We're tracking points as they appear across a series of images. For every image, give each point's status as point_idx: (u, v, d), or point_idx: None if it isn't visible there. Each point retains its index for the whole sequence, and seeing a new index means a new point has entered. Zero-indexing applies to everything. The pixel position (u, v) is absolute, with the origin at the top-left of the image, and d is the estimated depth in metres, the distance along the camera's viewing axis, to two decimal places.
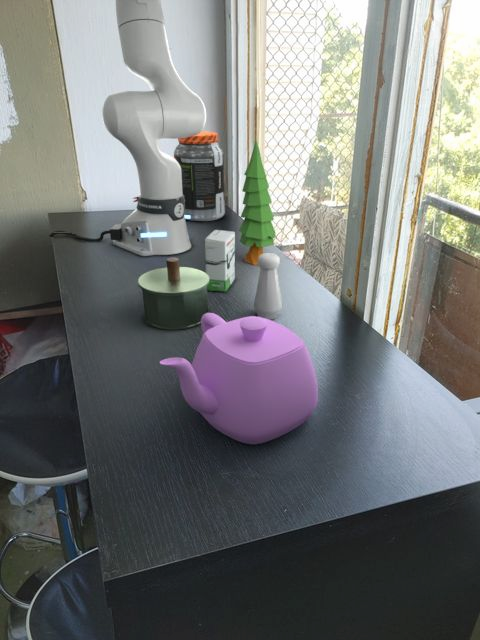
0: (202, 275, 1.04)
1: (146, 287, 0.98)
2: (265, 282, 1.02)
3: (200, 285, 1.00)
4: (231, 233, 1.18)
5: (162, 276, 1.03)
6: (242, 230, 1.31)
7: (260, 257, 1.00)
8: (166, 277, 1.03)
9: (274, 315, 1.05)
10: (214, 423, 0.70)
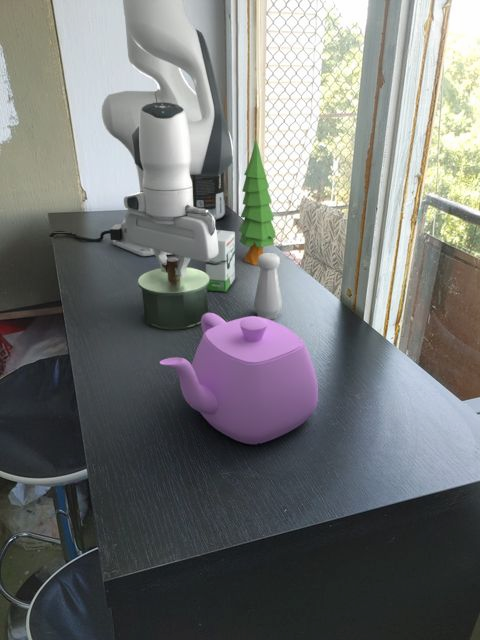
0: (202, 275, 1.04)
1: (146, 287, 0.98)
2: (265, 282, 1.02)
3: (200, 285, 1.00)
4: (231, 233, 1.18)
5: (162, 276, 1.03)
6: (242, 230, 1.31)
7: (260, 257, 1.00)
8: (166, 277, 1.03)
9: (274, 315, 1.05)
10: (214, 423, 0.70)
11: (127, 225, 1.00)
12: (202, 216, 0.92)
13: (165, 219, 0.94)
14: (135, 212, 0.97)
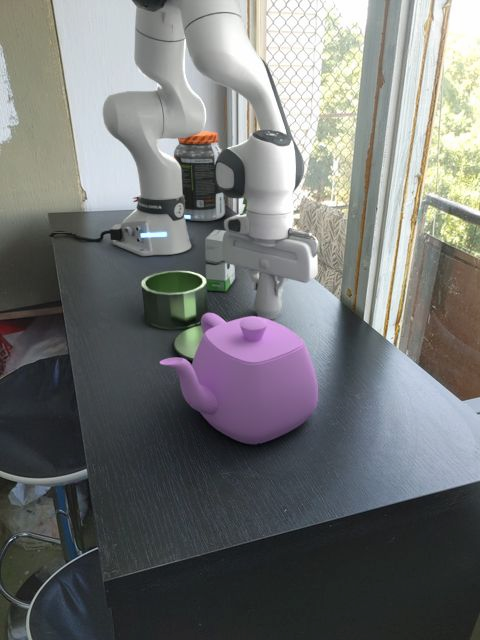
0: None
1: (184, 353, 0.91)
2: (265, 282, 1.02)
3: None
4: None
5: (199, 337, 0.96)
6: None
7: None
8: None
9: (274, 315, 1.05)
10: (214, 423, 0.70)
11: (224, 246, 1.03)
12: (305, 239, 0.95)
13: (268, 241, 0.97)
14: (235, 234, 1.00)
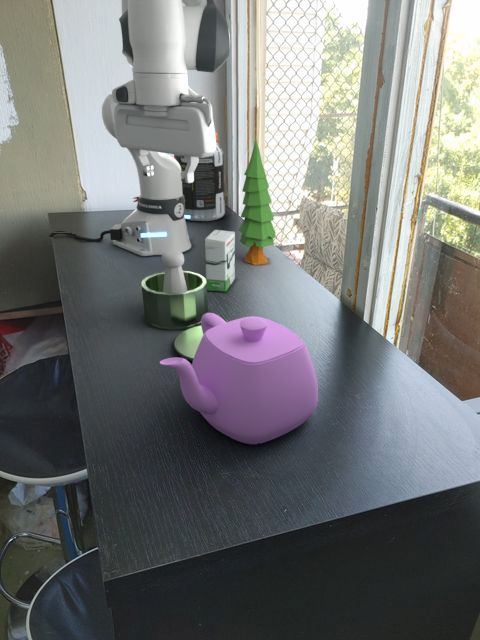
0: None
1: (184, 353, 0.91)
2: (169, 280, 1.01)
3: None
4: (231, 233, 1.18)
5: (199, 337, 0.96)
6: (242, 230, 1.31)
7: (163, 255, 0.99)
8: None
9: None
10: (214, 423, 0.70)
11: (116, 124, 0.92)
12: (198, 104, 0.83)
13: (157, 110, 0.85)
14: (125, 106, 0.88)
